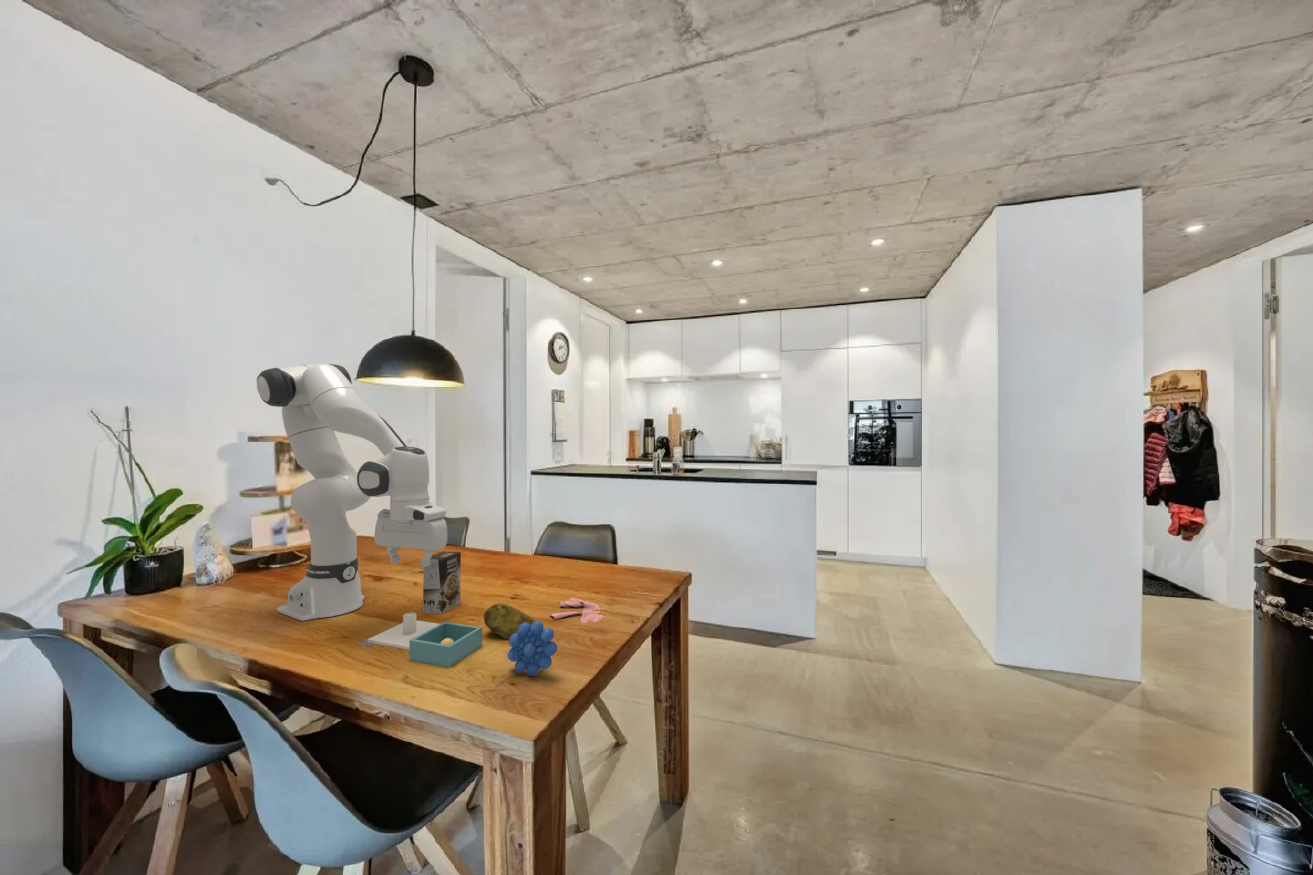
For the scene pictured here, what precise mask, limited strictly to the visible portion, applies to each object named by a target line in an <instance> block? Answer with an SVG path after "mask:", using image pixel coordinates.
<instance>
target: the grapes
mask: <svg viewBox="0 0 1313 875" xmlns="http://www.w3.org/2000/svg"><path fill="white" fill-rule="evenodd" d="M517 631H518V633H514V634H512V635H511V637H510V638H509V639H508V644H509V647H510V649H509V650H508V652H507V660H509V661H510V662H515V663H514V670H515V672H517V673H518V674H522V673H524V672H526V674H527V675H528V676H530V677H534V676H536V675H538V674H539V672H540V669H541V670H543V671H544V670H547V669H549V668H550V667H551V665H552V663H553V662H552V657H553V656H554V655H555V654H556V653H557V651H558V645H557V643H556V642H555V641H552V640H553V639H554V636H555V635H554V634H555V633H554V630H553V629H552V628H551V627H546V628H545V626H544V622H543V621H541V620H539V619H537V620H535V621H534V622H533V623H532V624H531V626H530V624H528V623H522V624H521V625H520V626H519V627H518V630H517Z"/></svg>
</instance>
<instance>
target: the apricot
mask: <svg viewBox="0 0 1313 875" xmlns="http://www.w3.org/2000/svg"><path fill="white" fill-rule="evenodd" d="M453 642H454V641H453V640H452V639H450V638H446V639H444V640H442V641H441V643H440V644H445V645H450V644H452V643H453Z"/></svg>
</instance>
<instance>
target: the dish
mask: <svg viewBox="0 0 1313 875" xmlns="http://www.w3.org/2000/svg"><path fill="white" fill-rule="evenodd" d="M439 624H440V625H438V626H436V627H434V628H432V629H430V630H428V631H426V632H424V633H423V634H421V635H419V636H417V637H415V638H413V639H411V640H409V649H408V651H409V654H408V655H409V658H408V660H409V661H414V662H420V663H424V664H429V665H435V666H440V667H444V668H451V667H452V666H454V665H455V664H457V663H458V662H460V661H461V660H463V659H464V658H465V657H467V656H469V655H470V654H472V653H473V652H475V651H476V650H478V649H479V648H481V647H482V646H483V627H481V626H475V625H468V624H462V623H455V622H447V621H444V622H441V623H439ZM446 638H450V639H452V640H453V641H454V642H453V643H452V644H450V645H445V644H440V643H441V641H442V640H444V639H446Z"/></svg>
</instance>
